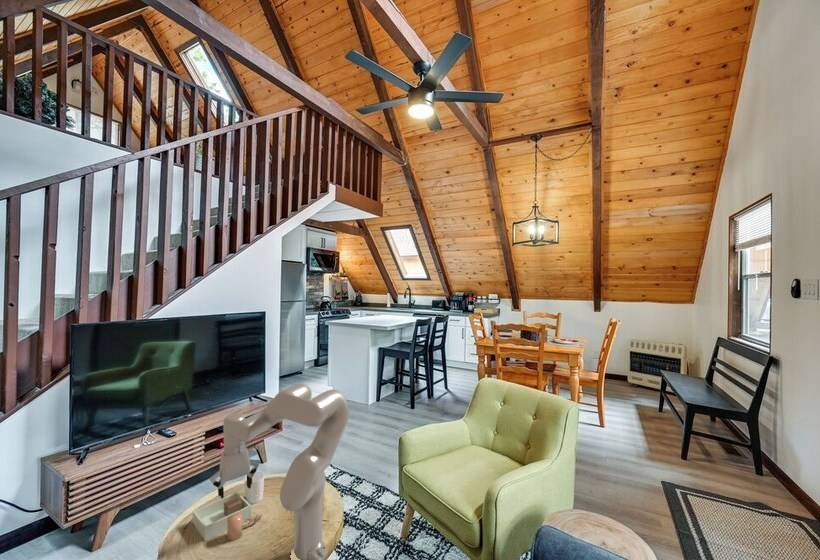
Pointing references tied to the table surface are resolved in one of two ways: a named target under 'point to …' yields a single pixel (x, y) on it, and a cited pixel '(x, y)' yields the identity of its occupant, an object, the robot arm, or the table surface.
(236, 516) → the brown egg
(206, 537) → the tote
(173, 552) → the table surface
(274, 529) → the table surface
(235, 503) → the cube
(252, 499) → the white cup
